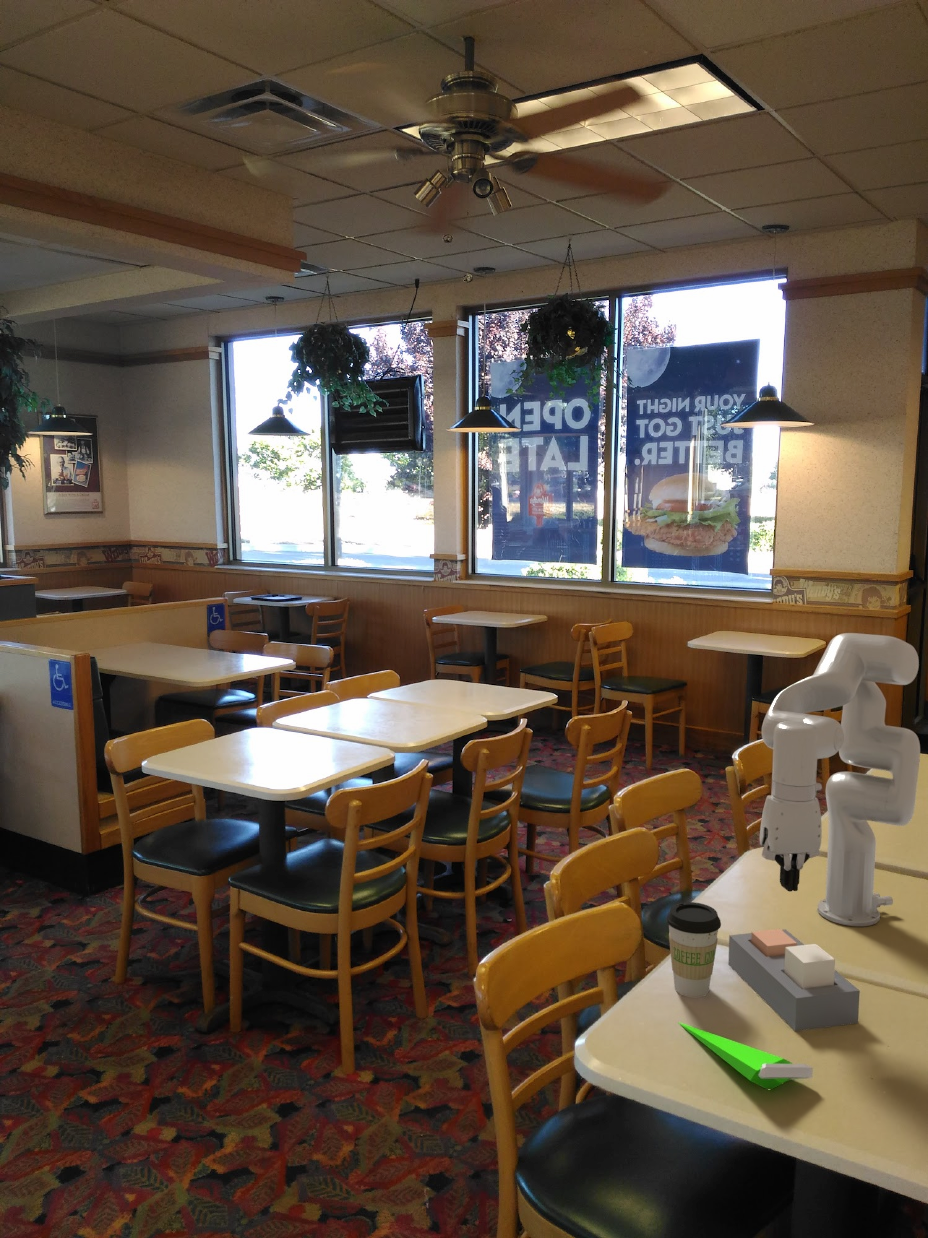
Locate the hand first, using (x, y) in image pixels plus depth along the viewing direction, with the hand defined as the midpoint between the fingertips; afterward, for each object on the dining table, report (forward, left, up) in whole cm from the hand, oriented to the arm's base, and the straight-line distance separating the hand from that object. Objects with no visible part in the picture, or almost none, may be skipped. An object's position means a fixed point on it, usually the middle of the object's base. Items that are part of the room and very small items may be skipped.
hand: (789, 888), depth 175 cm
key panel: (0, +1, -20) cm, 20 cm away
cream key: (0, +7, -15) cm, 17 cm away
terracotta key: (0, -5, -18) cm, 19 cm away
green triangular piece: (+21, +20, -20) cm, 35 cm away
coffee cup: (+17, -4, -20) cm, 26 cm away
